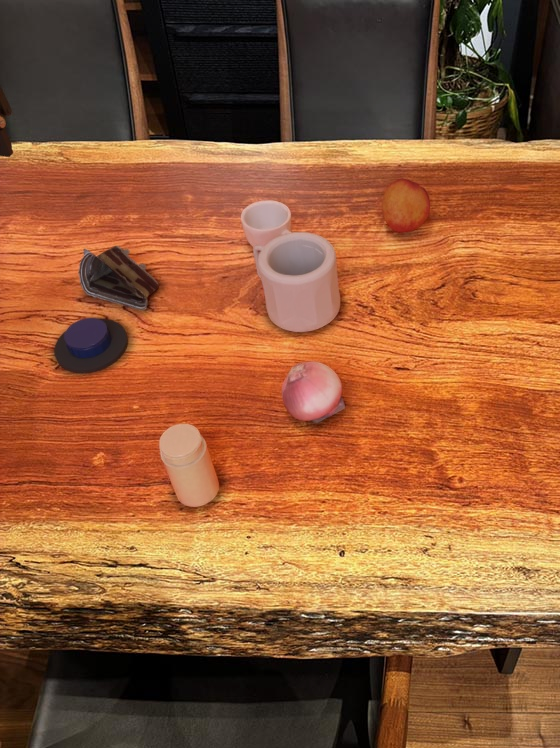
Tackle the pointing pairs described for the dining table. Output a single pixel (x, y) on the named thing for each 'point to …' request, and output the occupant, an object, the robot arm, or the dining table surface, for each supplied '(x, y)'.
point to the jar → (188, 465)
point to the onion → (312, 392)
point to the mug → (299, 280)
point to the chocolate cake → (116, 278)
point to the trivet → (96, 362)
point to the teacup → (265, 221)
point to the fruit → (405, 205)
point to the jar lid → (87, 337)
